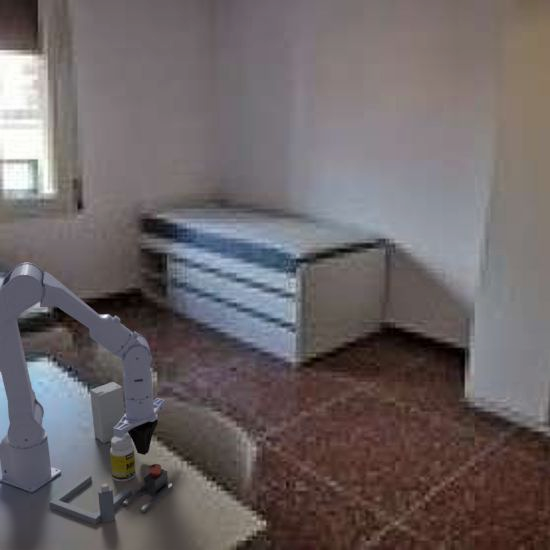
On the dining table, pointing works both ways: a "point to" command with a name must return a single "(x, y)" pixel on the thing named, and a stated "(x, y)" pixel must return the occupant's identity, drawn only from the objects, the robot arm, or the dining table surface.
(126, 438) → the supplement bottle
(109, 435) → the skincare box
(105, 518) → the press bed
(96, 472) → the dining table surface
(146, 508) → the track
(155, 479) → the grey slider block
